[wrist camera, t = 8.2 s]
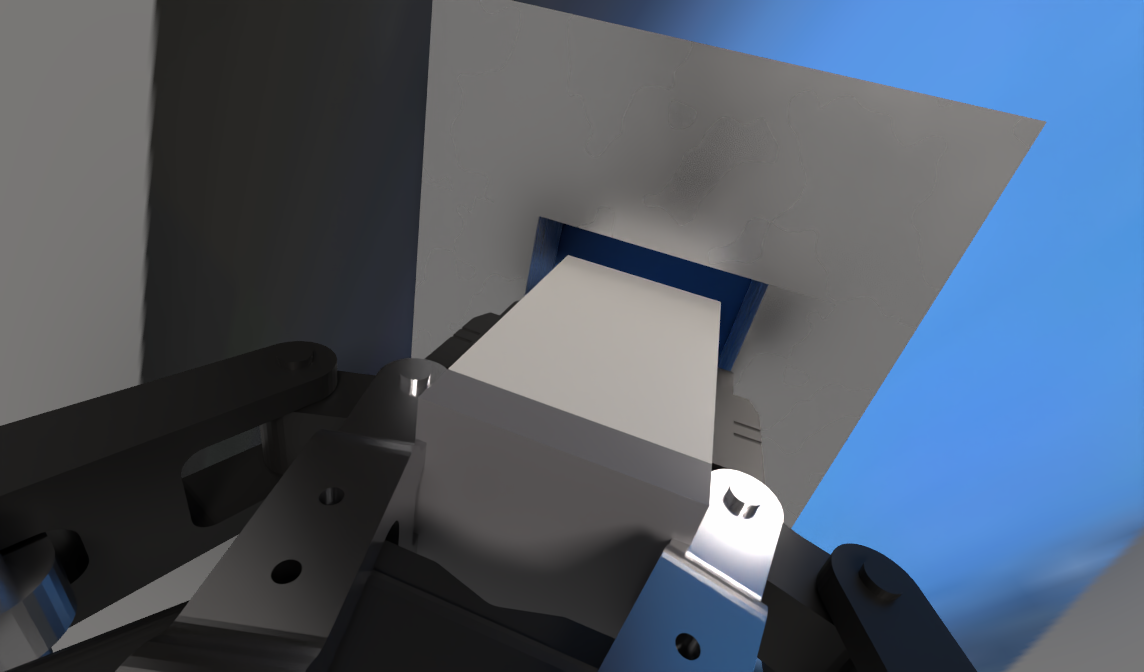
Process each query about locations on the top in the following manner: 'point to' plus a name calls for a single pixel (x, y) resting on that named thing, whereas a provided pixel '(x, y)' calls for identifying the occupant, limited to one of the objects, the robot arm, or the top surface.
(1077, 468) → the top surface
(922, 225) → the socket
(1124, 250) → the top surface
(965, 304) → the top surface
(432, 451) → the plug
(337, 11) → the top surface
